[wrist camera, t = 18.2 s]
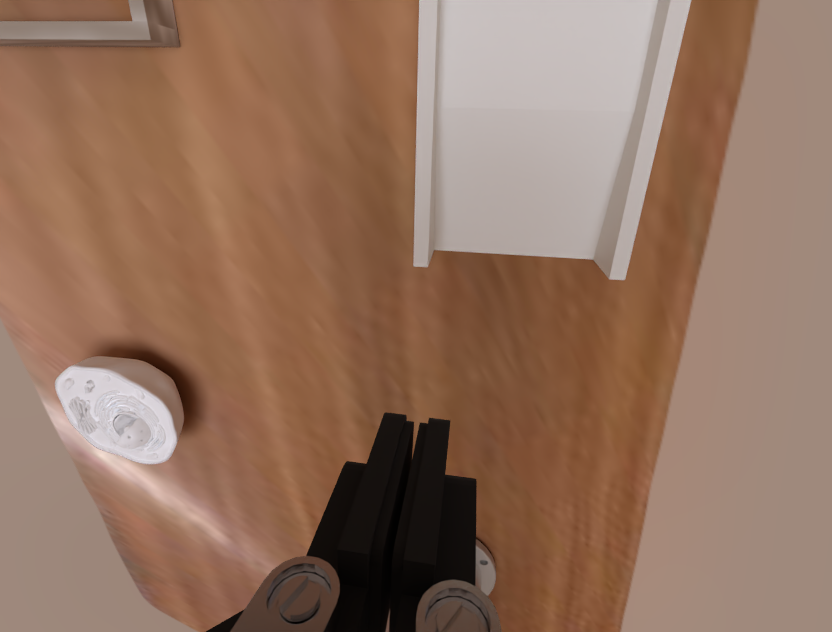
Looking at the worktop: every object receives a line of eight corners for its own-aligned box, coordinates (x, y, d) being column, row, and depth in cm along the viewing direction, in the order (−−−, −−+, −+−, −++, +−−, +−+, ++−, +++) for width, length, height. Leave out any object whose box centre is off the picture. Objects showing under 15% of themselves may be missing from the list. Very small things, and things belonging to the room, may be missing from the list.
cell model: (118, 316, 41) (54, 351, 35) (225, 392, 43) (182, 437, 37) (83, 381, 45) (20, 423, 39) (182, 448, 47) (136, 497, 41)
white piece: (603, 256, 33) (624, 280, 28) (423, 245, 35) (413, 266, 30) (664, -35, 26) (708, -72, 21) (431, -32, 27) (420, -66, 22)
